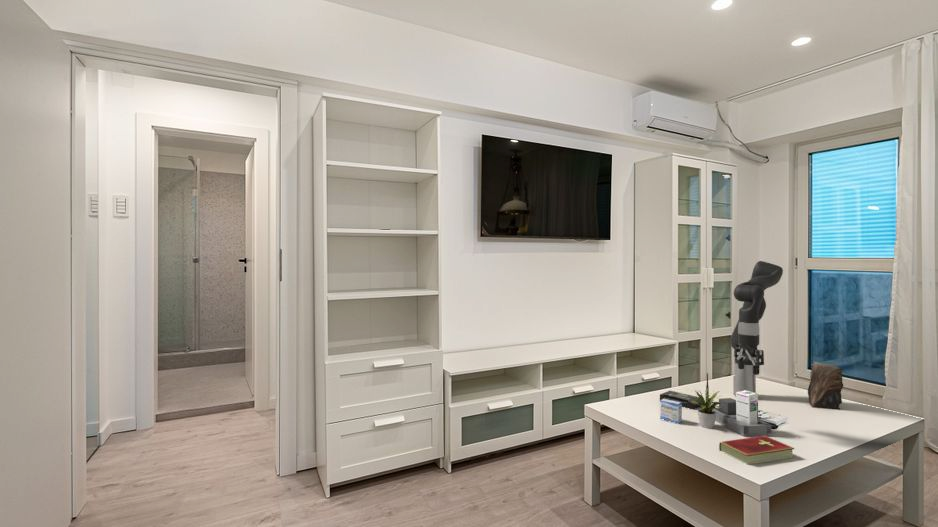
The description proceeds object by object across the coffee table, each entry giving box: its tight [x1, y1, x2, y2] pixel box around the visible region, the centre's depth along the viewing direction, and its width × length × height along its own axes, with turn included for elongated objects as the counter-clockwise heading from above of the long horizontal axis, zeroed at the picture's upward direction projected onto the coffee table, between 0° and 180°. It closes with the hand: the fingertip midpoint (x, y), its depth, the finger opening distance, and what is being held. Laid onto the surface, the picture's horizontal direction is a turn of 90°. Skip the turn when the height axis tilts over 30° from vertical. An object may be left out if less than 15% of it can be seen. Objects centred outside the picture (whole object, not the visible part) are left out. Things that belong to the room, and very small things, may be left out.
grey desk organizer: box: [713, 397, 772, 437], centre depth 192 cm, size 27×12×9 cm, turn 6°
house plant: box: [685, 388, 722, 429], centre depth 189 cm, size 14×14×16 cm
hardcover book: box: [718, 435, 795, 466], centre depth 162 cm, size 12×21×4 cm, turn 105°
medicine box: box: [659, 399, 683, 424], centre depth 196 cm, size 8×4×9 cm, turn 47°
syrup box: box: [735, 390, 759, 425], centre depth 184 cm, size 6×6×14 cm
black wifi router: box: [659, 372, 710, 410], centre depth 218 cm, size 20×14×17 cm
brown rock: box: [807, 361, 844, 410], centre depth 214 cm, size 13×13×20 cm
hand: (748, 371), depth 185 cm, fingers open, 8 cm apart
